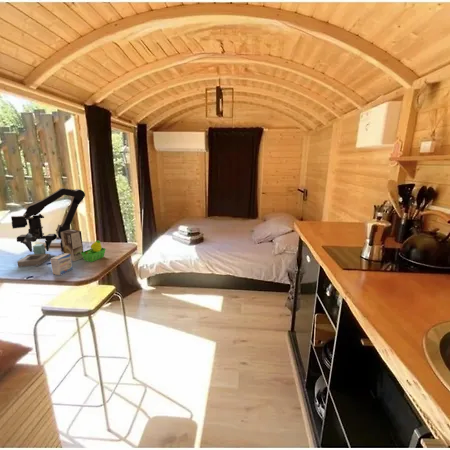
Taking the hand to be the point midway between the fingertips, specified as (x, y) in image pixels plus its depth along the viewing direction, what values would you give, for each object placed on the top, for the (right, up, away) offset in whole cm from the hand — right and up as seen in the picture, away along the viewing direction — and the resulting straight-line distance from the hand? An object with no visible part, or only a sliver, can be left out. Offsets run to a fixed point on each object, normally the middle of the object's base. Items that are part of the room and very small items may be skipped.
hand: (39, 251), depth 150 cm
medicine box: (+28, -8, -22) cm, 37 cm away
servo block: (0, -2, 0) cm, 2 cm away
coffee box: (+24, -4, -4) cm, 24 cm away
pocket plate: (+6, -5, -11) cm, 13 cm away
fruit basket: (+36, -4, -5) cm, 36 cm away
